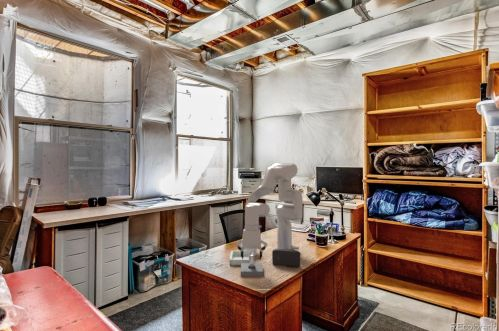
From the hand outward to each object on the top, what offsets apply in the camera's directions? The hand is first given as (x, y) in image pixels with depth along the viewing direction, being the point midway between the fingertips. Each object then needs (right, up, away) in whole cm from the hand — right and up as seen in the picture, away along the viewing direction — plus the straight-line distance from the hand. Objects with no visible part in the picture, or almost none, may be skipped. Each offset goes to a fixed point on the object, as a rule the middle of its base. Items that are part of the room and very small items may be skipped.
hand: (251, 258), depth 153 cm
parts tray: (-6, -8, +18) cm, 20 cm away
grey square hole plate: (0, -8, +1) cm, 8 cm away
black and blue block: (+20, -8, +9) cm, 24 cm away
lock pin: (0, -8, +1) cm, 8 cm away
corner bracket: (-1, -7, +34) cm, 34 cm away
